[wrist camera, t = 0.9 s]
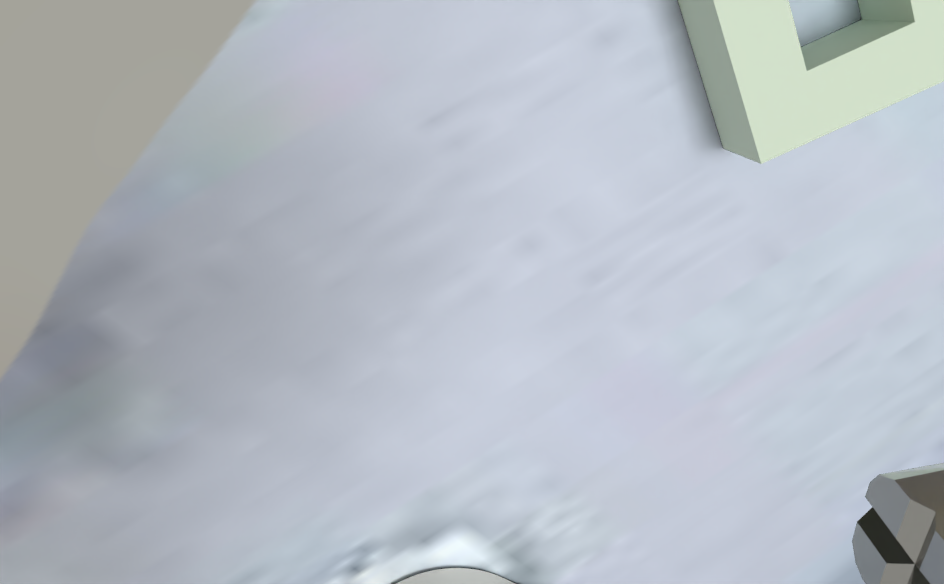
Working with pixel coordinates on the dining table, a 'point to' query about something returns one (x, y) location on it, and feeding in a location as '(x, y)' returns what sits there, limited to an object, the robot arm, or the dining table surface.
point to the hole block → (808, 68)
